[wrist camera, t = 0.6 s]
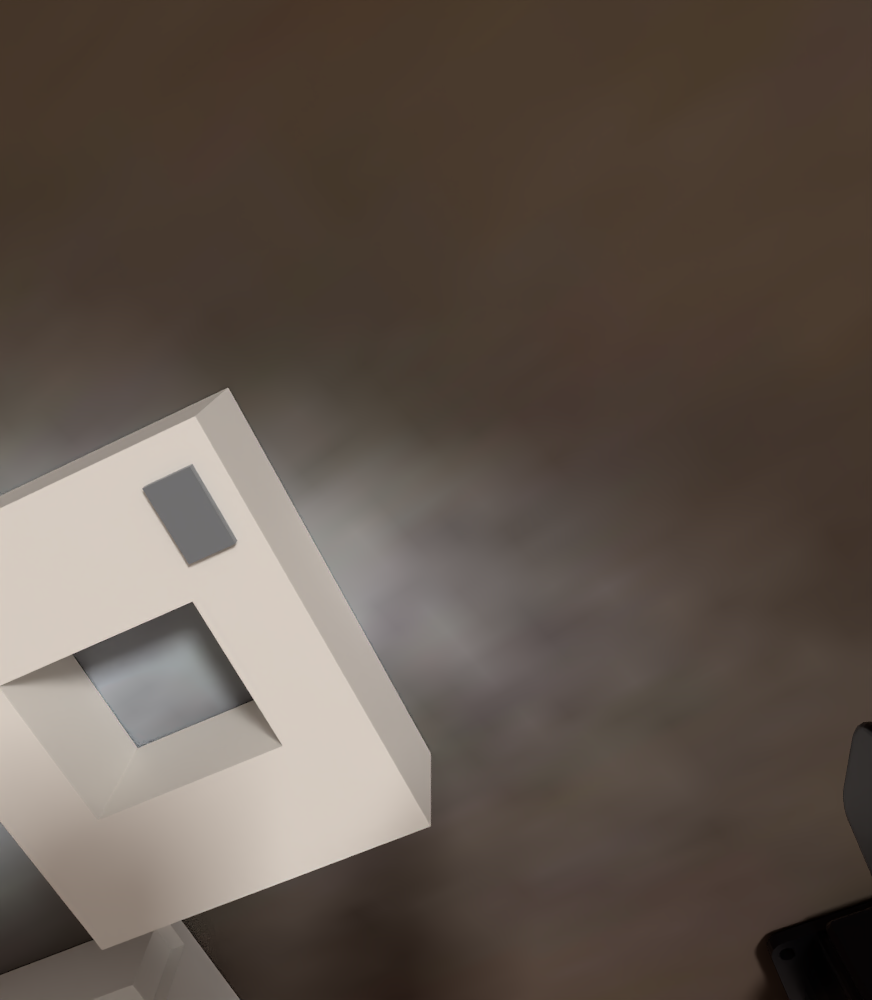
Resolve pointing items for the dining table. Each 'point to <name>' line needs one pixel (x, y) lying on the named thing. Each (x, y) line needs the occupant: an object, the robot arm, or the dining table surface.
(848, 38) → the dining table surface
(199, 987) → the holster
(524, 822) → the dining table surface
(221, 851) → the socket block
